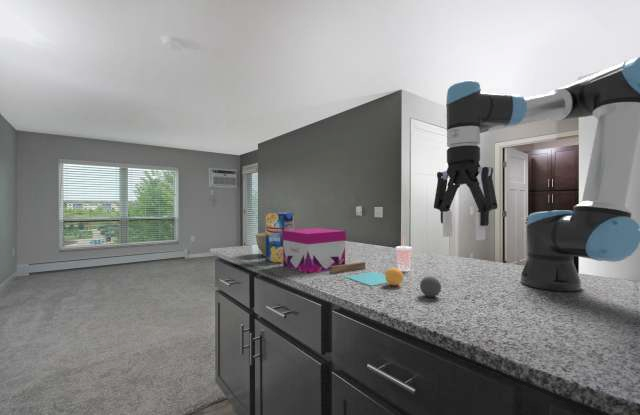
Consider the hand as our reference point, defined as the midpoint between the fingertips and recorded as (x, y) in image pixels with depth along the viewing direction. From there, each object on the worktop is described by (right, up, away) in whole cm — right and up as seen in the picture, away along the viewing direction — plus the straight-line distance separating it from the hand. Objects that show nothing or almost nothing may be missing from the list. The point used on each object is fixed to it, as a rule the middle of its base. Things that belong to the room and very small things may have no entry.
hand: (463, 237), depth 76 cm
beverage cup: (-3, -17, +43) cm, 46 cm away
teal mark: (-17, -17, +29) cm, 38 cm away
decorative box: (-38, -17, +51) cm, 66 cm away
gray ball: (-5, -15, +9) cm, 18 cm away
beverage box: (-54, -17, +63) cm, 85 cm away
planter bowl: (-60, -17, +79) cm, 101 cm away
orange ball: (-12, -14, +21) cm, 28 cm away
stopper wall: (-25, -17, +42) cm, 52 cm away
